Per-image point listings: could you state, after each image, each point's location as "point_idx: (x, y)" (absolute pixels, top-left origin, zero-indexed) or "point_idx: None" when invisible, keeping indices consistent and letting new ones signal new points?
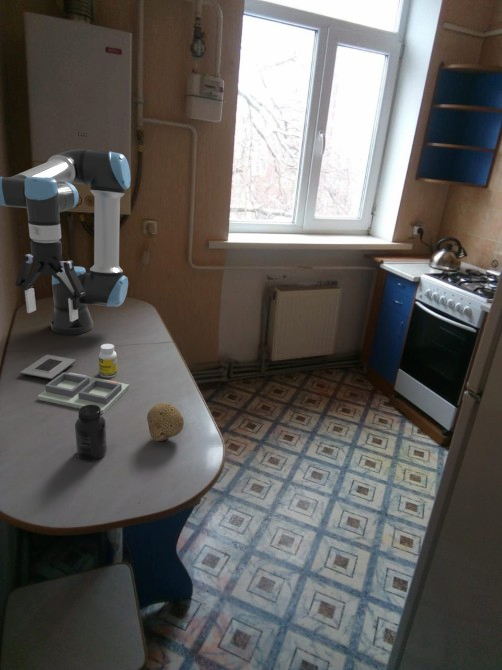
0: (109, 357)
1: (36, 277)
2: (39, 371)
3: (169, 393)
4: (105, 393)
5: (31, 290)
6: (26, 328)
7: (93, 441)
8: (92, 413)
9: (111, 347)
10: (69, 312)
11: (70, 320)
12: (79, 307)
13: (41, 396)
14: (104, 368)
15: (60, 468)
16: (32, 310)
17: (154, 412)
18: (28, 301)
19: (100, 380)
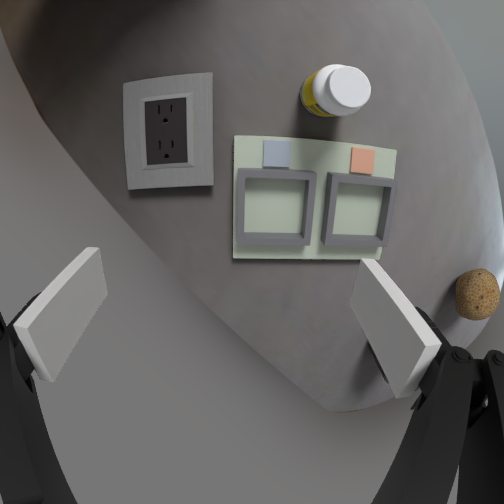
0: (356, 110)
1: (42, 458)
2: (164, 167)
3: (459, 152)
4: (364, 201)
5: (40, 343)
6: (19, 14)
7: None
8: (416, 388)
9: (366, 91)
10: (366, 334)
11: (353, 306)
12: (422, 311)
13: (241, 257)
14: (331, 116)
15: (357, 367)
16: (101, 277)
17: (478, 318)
18: (81, 332)
19: (349, 179)
